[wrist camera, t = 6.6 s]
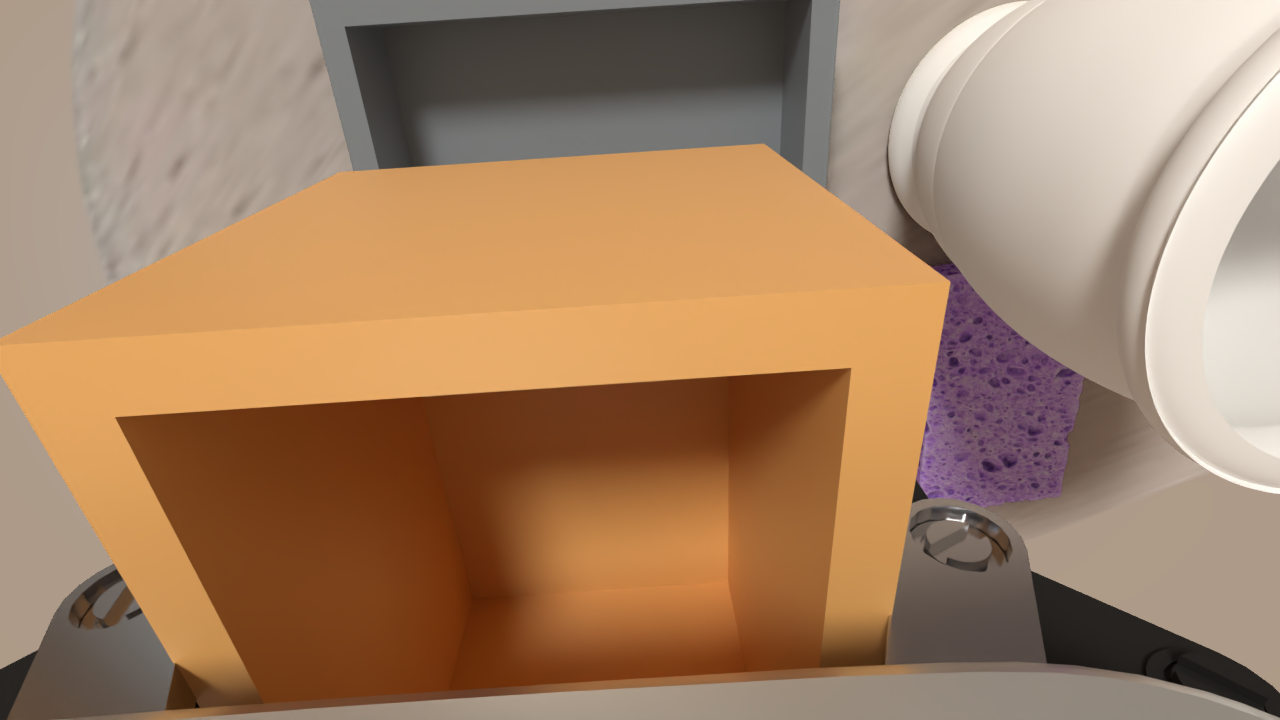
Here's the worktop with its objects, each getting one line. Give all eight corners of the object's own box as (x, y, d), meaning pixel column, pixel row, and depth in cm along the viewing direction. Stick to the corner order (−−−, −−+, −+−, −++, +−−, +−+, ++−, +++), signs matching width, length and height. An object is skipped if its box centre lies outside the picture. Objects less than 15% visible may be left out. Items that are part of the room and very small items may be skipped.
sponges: (901, 493, 32) (916, 518, 31) (917, 259, 26) (937, 274, 25) (1039, 475, 32) (1063, 499, 30) (1086, 235, 26) (1118, 249, 25)
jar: (820, 56, 22) (1116, 87, 9) (1122, -97, 21) (2047, -340, 7) (898, 305, 27) (1172, 570, 14) (1151, 197, 25) (1756, 382, 12)
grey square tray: (805, -27, 21) (842, -40, 18) (784, 366, 28) (808, 414, 25) (360, 2, 21) (308, -4, 18) (448, 388, 28) (423, 440, 25)
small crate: (764, 144, 10) (950, 281, 4) (751, 578, 14) (837, 927, 8) (339, 172, 10) (-15, 346, 4) (455, 598, 14) (350, 960, 8)
